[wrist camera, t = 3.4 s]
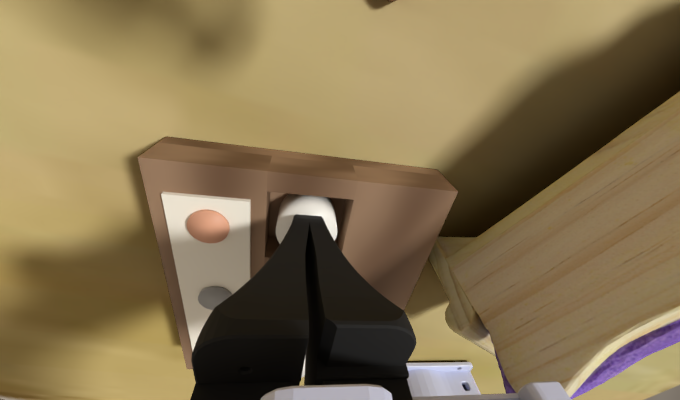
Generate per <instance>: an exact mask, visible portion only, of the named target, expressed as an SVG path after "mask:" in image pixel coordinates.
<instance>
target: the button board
mask: <svg viewBox="0 0 680 400" xmlns="http://www.w3.org/2000/svg"><path fill="white" fill-rule="evenodd" d="M138 162H139V166H140V170H141V174H142V179H143V183H144V187H145V192H146V196H147V200H148V204H149V209H150V213H151V217H152V221H153V226H154V230H155V234H156V239H157V243H158V247H159V251H160V256H161V260H162V264H163V269H164V273H165V277H166V281H167V286H168V290H169V294H170V298H171V303H172V307H173V311H174V316H175V320H176V324H177V328H178V333H179V337H180V341H181V346H182V350H183V354H184V358H185V363H186V367H187V369H193V367H192V362H191V358H192V352H193V351H192V346H191V341H190V336H189V331H188V326H187V321H186V316H185V311H184V306H183V301H182V296H181V291H180V286H179V281H178V276H177V271H176V266H175V261H174V256H173V251H172V246H171V241H170V236H169V231H168V226H167V221H166V216H165V211H164V206H163V201H162V196H161V194H162V193H163V192H172V193H183V194H195V195H206V196H217V197H228V198H239V199H251V278H252V277H253V276H254V275H255V274H256V273H257V272H258V271H259V270H260V269H261V268H262V267H263V266H264V265H265V263H266V262H267V261H268V260H269V259H270V257H271V256H272V255H273V253H274V252H275V251H276V249H277V248H278V246H279V245H280V243H279V242H278V240H277V237H276V225H277V219H278V213H279V208H280V204H281V202H282V201H283V199H284V198H285V197H286V196H288V195H289V194H299V195H309V196H320V197H328V198H329V199H330V200H331V201H332V203H333V205H334V209H335V216H336V223H337V237H336V239H335V242H336V244H337V246H338V247H339V249H340V250H341V252H342V253H343V255H344V256H345V257H346V259H347V260H348V261H349V263H350V264H351V265H352V266H353V267H354V269H355V270H356V271H357V272H358V273H359V274H360V275H361V276H362V277H363V278H364V279H365V280H366V281H367V282H368V283H369V284H370V285H371V286H372V287H373V288H374V289H376V290H377V291H378V292H379V293H380V294H382V295H383V296H384V297H385V298H387V299H388V300H389V301H391V302H392V303H394V304H395V305H397V306H398V307H399V308H401V309H402V310H404V309H405V307H406V305H407V303H408V301H409V298H410V296H411V294H412V292H413V290H414V287H415V285H416V283H417V281H418V279H419V276H420V274H421V272H422V270H423V268H424V266H425V263H426V261H427V259H428V257H429V255H430V252H431V250H432V248H433V246H434V244H435V241H436V239H437V237H438V235H439V233H440V231H441V228H442V226H443V224H444V222H445V220H446V217H447V215H448V213H449V211H450V209H451V206H452V204H453V202H454V200H455V198H456V196H457V193H458V191H457V190H456V189H455V188H454V187H453V186H452V185H451V184H450V183H449V182H448V180H447V179H446V178H445V177H444V176H443V175H442V174H441V173H440V172H439V171H438V170H437V169H428V168H420V167H412V166H404V165H396V164H387V163H379V162H371V161H363V160H354V159H346V158H338V157H330V156H322V155H313V154H305V153H297V152H289V151H280V150H272V149H264V148H256V147H248V146H239V145H231V144H223V143H215V142H206V141H198V140H190V139H182V138H174V137H165V138H163V139H162V140H161V141H159V142H158V143H156V144H155V145H154V146H152V147H151V148H150V149H148V150H147V151H146V152H144V153H143V154H141V155H140V156H139V157H138Z"/></svg>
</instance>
